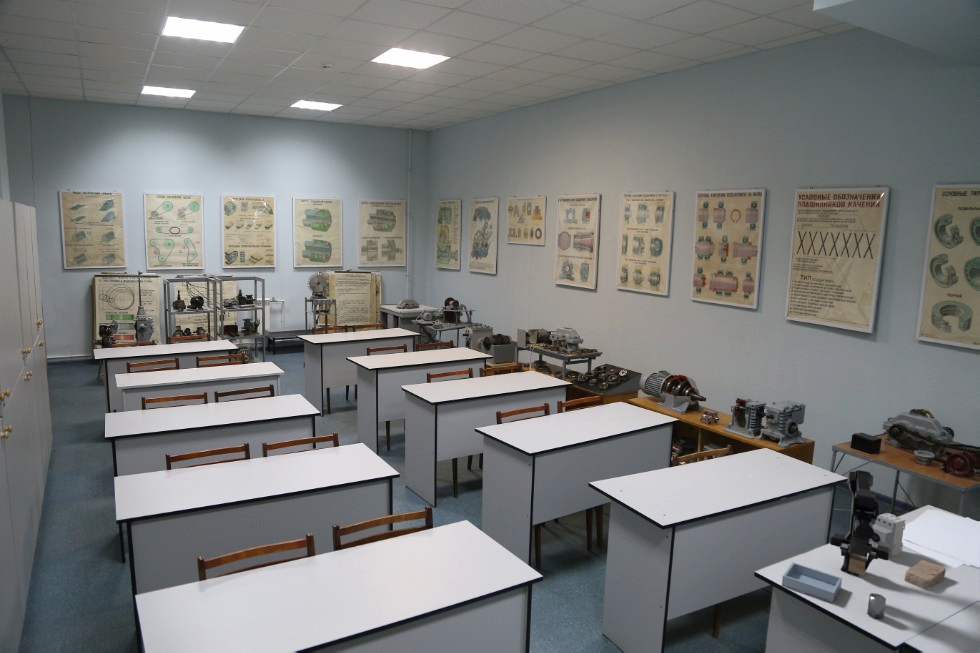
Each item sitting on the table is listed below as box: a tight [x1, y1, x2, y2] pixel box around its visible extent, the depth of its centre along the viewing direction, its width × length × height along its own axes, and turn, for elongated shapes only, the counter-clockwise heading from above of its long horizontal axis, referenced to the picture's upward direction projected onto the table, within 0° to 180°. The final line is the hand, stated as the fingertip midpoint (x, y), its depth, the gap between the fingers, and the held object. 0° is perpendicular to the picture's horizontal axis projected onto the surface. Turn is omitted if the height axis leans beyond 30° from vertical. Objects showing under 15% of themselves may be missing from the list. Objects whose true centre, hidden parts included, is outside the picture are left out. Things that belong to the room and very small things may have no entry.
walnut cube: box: [848, 554, 868, 576], centre depth 236 cm, size 5×5×5 cm
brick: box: [903, 559, 947, 591], centre depth 250 cm, size 17×8×5 cm, turn 125°
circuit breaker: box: [869, 512, 906, 558], centre depth 270 cm, size 8×14×15 cm, turn 115°
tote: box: [781, 562, 843, 604], centre depth 243 cm, size 14×18×4 cm
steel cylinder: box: [866, 592, 887, 621], centre depth 225 cm, size 5×5×7 cm
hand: (857, 567), depth 236 cm, fingers closed on walnut cube, 5 cm apart
